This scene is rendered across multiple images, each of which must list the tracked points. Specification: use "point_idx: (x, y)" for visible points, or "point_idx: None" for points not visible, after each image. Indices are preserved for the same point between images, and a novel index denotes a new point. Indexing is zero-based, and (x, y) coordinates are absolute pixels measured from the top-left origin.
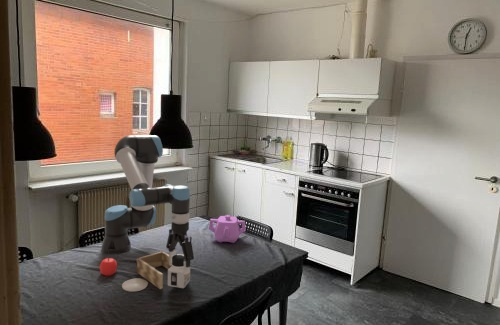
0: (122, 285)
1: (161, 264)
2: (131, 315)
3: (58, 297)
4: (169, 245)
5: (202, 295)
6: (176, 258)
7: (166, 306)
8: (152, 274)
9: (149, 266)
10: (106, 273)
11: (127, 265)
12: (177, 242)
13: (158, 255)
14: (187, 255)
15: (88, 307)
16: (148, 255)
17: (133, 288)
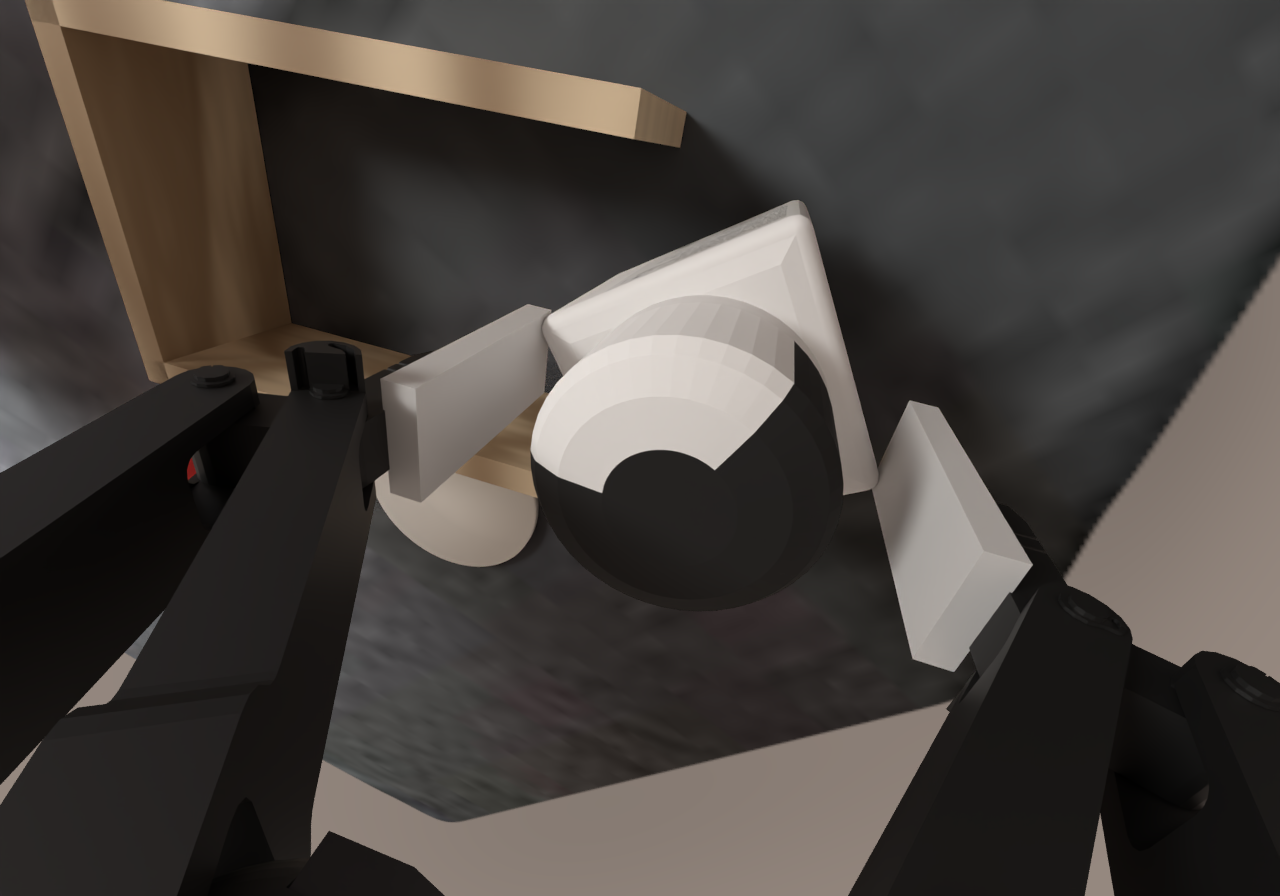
0: (416, 542)
1: (237, 64)
2: (727, 719)
3: (352, 711)
4: (209, 456)
5: (1080, 288)
6: (692, 603)
7: (849, 587)
8: None
9: None
10: None
11: None
12: (306, 595)
13: (117, 98)
14: (1134, 872)
15: (505, 727)
16: (113, 244)
17: (493, 537)
